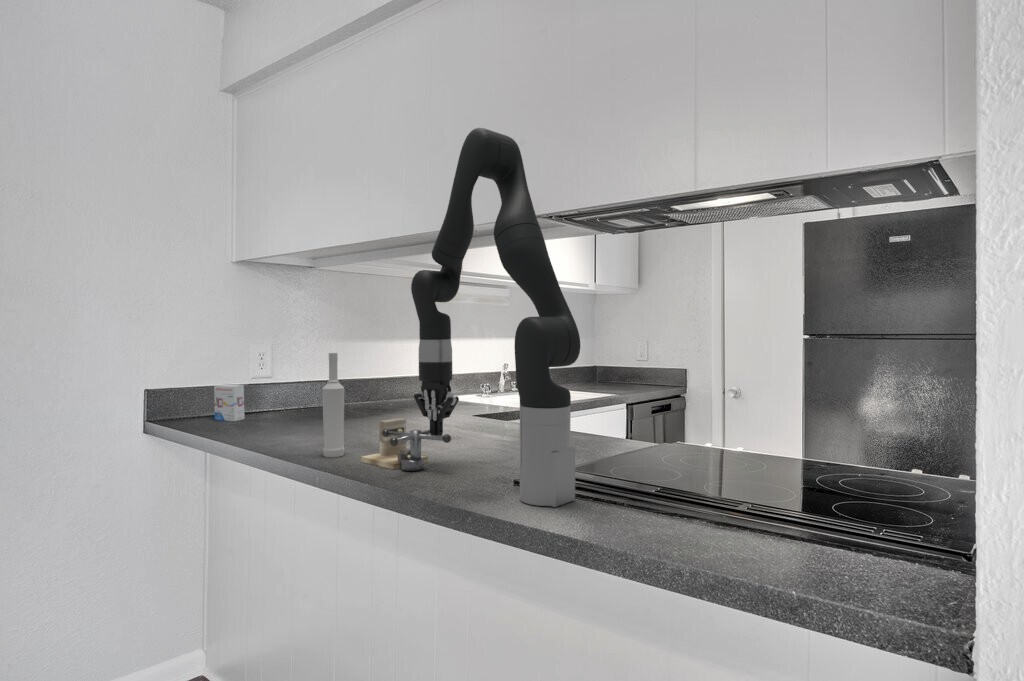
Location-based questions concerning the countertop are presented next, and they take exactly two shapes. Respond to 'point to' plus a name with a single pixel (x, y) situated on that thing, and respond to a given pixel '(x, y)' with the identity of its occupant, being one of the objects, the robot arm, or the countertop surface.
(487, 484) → the countertop surface
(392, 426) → the stand
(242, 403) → the ink box
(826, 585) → the countertop surface
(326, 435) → the bottle
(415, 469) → the grey cross handle
